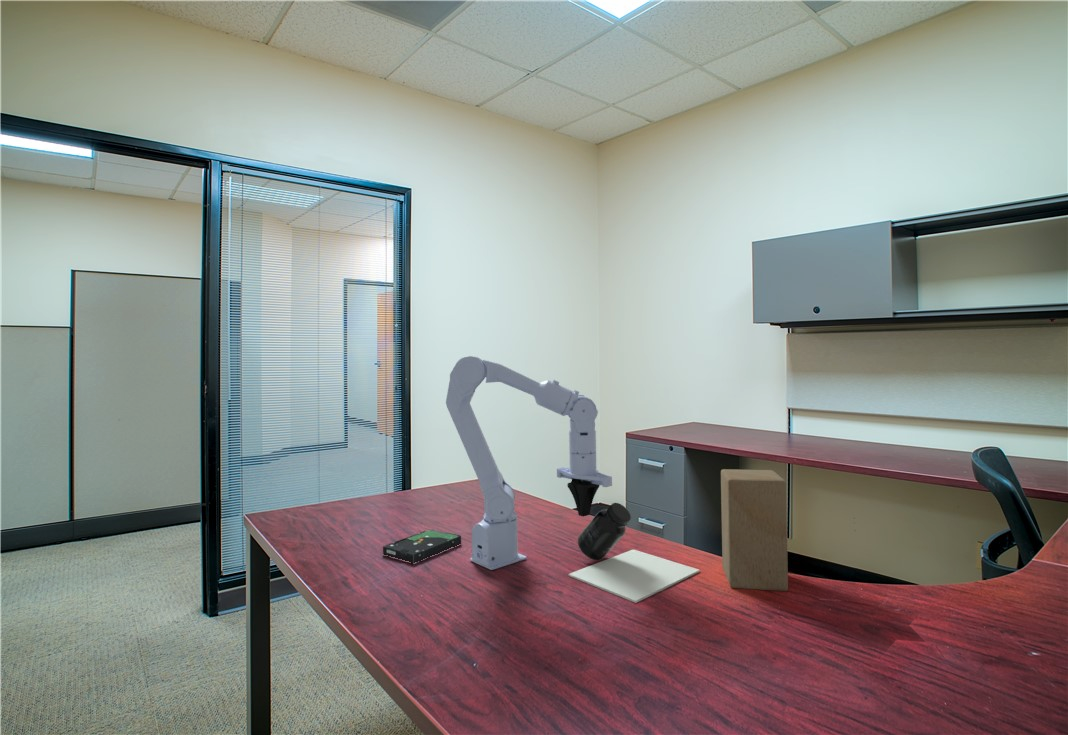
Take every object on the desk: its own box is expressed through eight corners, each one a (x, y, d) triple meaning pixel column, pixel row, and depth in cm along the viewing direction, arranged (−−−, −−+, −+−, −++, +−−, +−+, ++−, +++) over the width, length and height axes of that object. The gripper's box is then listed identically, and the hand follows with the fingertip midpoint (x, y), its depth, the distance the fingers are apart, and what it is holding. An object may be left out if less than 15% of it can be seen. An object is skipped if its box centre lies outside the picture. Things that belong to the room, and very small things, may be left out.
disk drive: (414, 568, 114) (462, 546, 126) (414, 554, 114) (462, 534, 126) (382, 558, 120) (430, 539, 132) (381, 546, 120) (430, 527, 132)
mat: (635, 602, 94) (635, 600, 94) (568, 576, 106) (568, 573, 106) (699, 571, 107) (699, 569, 107) (633, 551, 119) (633, 549, 119)
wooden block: (788, 592, 97) (786, 480, 97) (729, 588, 99) (727, 479, 99) (775, 571, 106) (773, 469, 106) (722, 568, 108) (720, 468, 108)
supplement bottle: (603, 567, 113) (635, 531, 107) (575, 552, 112) (606, 515, 107) (604, 543, 119) (634, 508, 114) (577, 529, 118) (607, 493, 113)
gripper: (621, 453, 114) (622, 517, 114) (571, 446, 124) (573, 505, 125) (598, 457, 109) (599, 525, 109) (549, 450, 120) (550, 511, 120)
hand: (584, 515), depth 116 cm, fingers closed
